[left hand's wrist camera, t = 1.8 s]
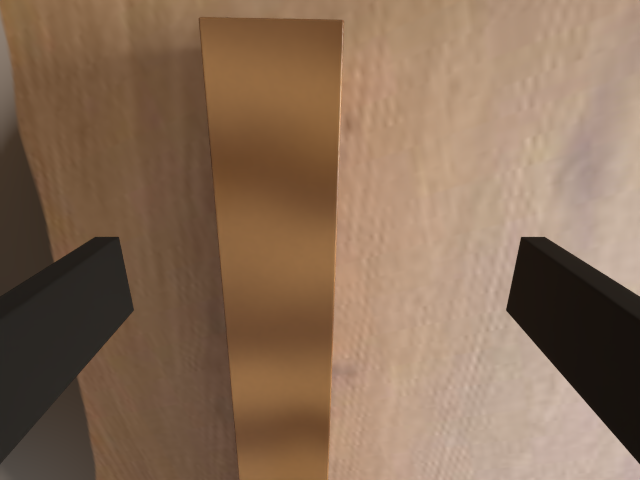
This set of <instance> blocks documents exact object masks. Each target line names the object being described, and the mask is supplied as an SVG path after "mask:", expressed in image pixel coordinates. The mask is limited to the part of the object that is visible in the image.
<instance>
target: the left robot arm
mask: <svg viewBox="0 0 640 480" xmlns="http://www.w3.org/2000/svg"><path fill="white" fill-rule="evenodd" d="M133 311H134V308H133V304H132V299H131V294H130V289H129V284H128V279H127V275H126V270H125V265H124V260H123V255H122V250H121V245H120V241H119V237H95V238H93V239H91V240H90V241H88V242H87V243H85V244H83V245H82V246H80V247H79V248H77V249H75V250H74V251H72V252H71V253H69V254H67V255H66V256H64V257H63V258H61V259H59V260H58V261H56V262H55V263H53V264H51V265H50V266H48V267H47V268H45V269H43V270H42V271H40V272H39V273H37V274H36V275H34V276H32V277H31V278H29V279H28V280H26V281H24V282H23V283H21V284H20V285H18V286H16V287H15V288H13V289H12V290H10V291H8V292H7V293H5V294H4V295H2V296H0V464H1V462H2V461H3V460H4V459H5V458H6V457H7V456H8V454H9V453H10V452H11V451H12V450H13V449H14V448H15V446H16V445H17V444H18V443H19V442H20V441H21V439H22V438H23V437H24V436H25V435H26V434H27V433H28V431H29V430H30V429H31V428H32V427H33V426H34V425H35V423H36V422H37V421H38V420H39V419H40V418H41V417H42V415H43V414H44V413H45V412H46V411H47V410H48V408H49V407H50V406H51V405H52V404H53V403H54V401H55V400H56V399H57V398H58V397H59V396H60V395H61V393H62V392H63V391H64V390H65V389H66V388H67V387H68V385H69V384H70V383H71V382H72V381H73V380H74V379H75V377H76V376H77V375H78V374H79V373H80V372H81V370H82V369H83V368H84V367H85V366H86V365H87V364H88V362H89V361H90V360H91V359H92V358H93V357H94V356H95V354H96V353H97V352H98V351H99V350H100V349H101V347H102V346H103V345H104V344H105V343H106V342H107V341H108V339H109V338H110V337H111V336H112V335H113V334H114V333H115V331H116V330H117V329H118V328H119V327H120V326H121V324H122V323H123V322H124V321H125V320H126V319H127V318H128V316H129V315H130V314H131V313H132V312H133ZM506 311H507V312H508V313H509V314H510V315H511V316H512V318H513V319H514V320H515V321H516V322H517V323H518V324H519V326H520V327H521V328H522V329H523V330H524V331H525V333H526V334H527V335H528V336H529V337H530V338H531V339H532V341H533V342H534V343H535V344H536V345H537V346H538V347H539V349H540V350H541V351H542V352H543V353H544V354H545V356H546V357H547V358H548V359H549V360H550V361H551V362H552V364H553V365H554V366H555V367H556V368H557V369H558V370H559V372H560V373H561V374H562V375H563V376H564V377H565V379H566V380H567V381H568V382H569V383H570V384H571V385H572V387H573V388H574V389H575V390H576V391H577V392H578V393H579V395H580V396H581V397H582V398H583V399H584V400H585V402H586V403H587V404H588V405H589V406H590V407H591V408H592V410H593V411H594V412H595V413H596V414H597V415H598V417H599V418H600V419H601V420H602V421H603V422H604V423H605V425H606V426H607V427H608V428H609V429H610V430H611V431H612V433H613V434H614V435H615V436H616V437H617V438H618V440H619V441H620V442H621V443H622V444H623V445H624V446H625V448H626V449H627V450H628V451H629V452H630V453H631V454H632V456H633V457H634V458H635V459H636V460H637V461H638V463H639V464H640V296H638V295H636V294H635V293H633V292H632V291H630V290H628V289H627V288H625V287H624V286H622V285H620V284H619V283H617V282H616V281H614V280H612V279H611V278H609V277H608V276H606V275H604V274H603V273H601V272H600V271H598V270H597V269H595V268H593V267H592V266H590V265H589V264H587V263H585V262H584V261H582V260H581V259H579V258H577V257H576V256H574V255H573V254H571V253H569V252H568V251H566V250H565V249H563V248H561V247H560V246H558V245H557V244H555V243H553V242H552V241H550V240H549V239H547V238H545V237H521V241H520V245H519V250H518V255H517V260H516V265H515V270H514V275H513V279H512V284H511V289H510V294H509V299H508V304H507V308H506Z"/></svg>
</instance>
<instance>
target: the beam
mask: <svg viewBox="0 0 640 480" xmlns="http://www.w3.org/2000/svg"><path fill="white" fill-rule="evenodd" d="M199 27H200V39H201V50H202V61H203V73H204V84H205V96H206V107H207V119H208V130H209V141H210V153H211V164H212V176H213V187H214V198H215V210H216V221H217V233H218V244H219V255H220V267H221V278H222V290H223V301H224V312H225V324H226V335H227V347H228V358H229V369H230V381H231V392H232V404H233V415H234V426H235V438H236V449H237V461H238V472H239V480H328V464H329V436H330V407H331V379H332V350H333V322H334V294H335V265H336V237H337V208H338V180H339V152H340V123H341V95H342V66H343V38H344V21H343V20H323V19H269V18H215V17H200V18H199Z"/></svg>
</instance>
